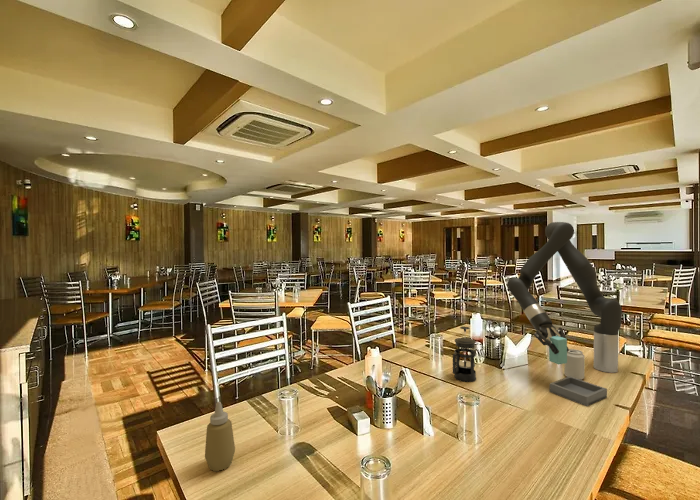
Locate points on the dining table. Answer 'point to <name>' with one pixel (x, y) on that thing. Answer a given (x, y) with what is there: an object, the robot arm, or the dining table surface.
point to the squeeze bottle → (219, 440)
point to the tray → (578, 391)
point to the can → (575, 364)
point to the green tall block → (562, 347)
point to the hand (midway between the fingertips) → (562, 352)
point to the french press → (465, 368)
